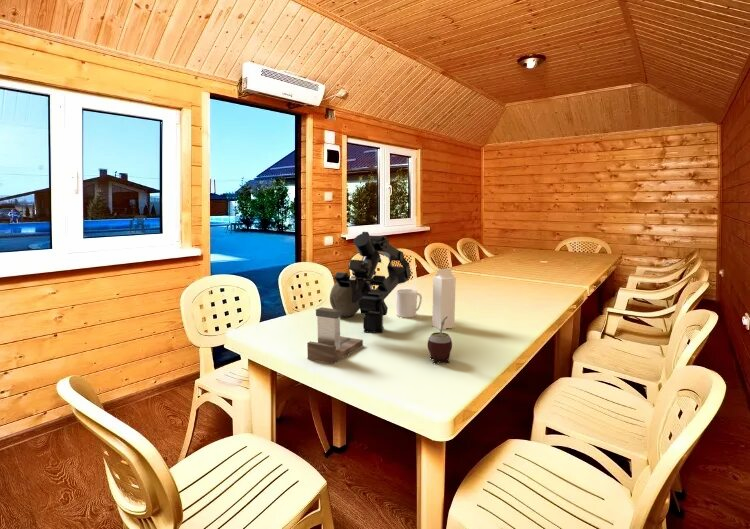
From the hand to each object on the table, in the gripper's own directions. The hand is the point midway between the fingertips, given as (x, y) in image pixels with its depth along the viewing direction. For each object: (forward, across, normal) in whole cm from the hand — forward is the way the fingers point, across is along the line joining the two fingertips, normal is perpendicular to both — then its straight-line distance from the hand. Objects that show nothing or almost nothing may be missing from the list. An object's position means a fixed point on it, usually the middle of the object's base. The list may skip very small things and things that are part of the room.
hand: (352, 302), depth 143 cm
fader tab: (+18, 0, -3) cm, 18 cm away
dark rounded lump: (-11, -19, +30) cm, 38 cm away
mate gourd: (+12, +31, +7) cm, 35 cm away
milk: (-12, +21, +32) cm, 40 cm away
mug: (-18, +4, +38) cm, 42 cm away
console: (+17, 0, +2) cm, 17 cm away
